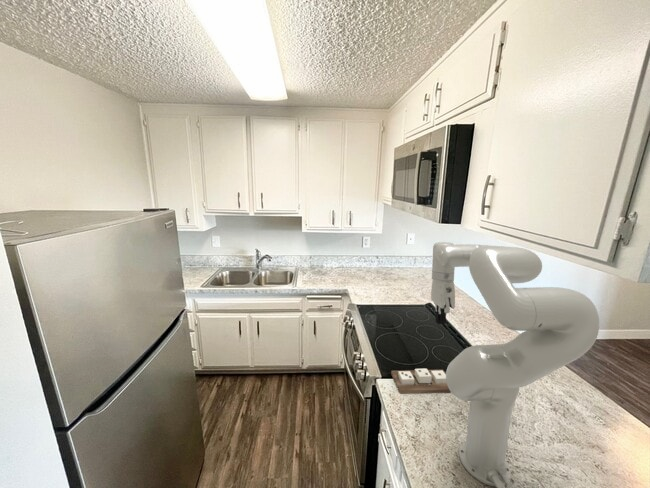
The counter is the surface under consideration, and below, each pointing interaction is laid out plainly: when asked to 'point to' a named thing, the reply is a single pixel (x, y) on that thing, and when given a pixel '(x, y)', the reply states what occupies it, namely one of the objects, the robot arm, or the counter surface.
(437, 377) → the keypad button
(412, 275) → the counter surface
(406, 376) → the white square block
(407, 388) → the keypad board
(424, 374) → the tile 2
